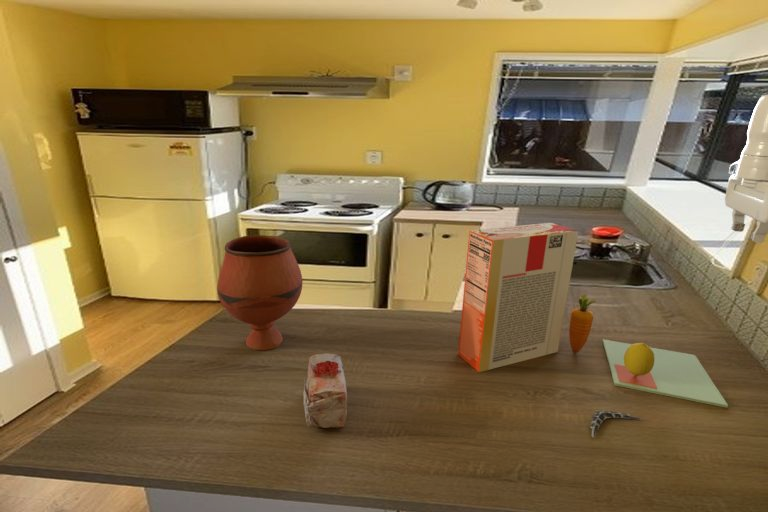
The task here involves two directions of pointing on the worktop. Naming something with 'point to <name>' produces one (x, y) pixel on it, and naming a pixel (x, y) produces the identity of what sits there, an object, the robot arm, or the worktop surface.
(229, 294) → the goblet
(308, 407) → the food item
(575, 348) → the carrot
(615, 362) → the mat
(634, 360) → the lemon
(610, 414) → the patterned boomerang
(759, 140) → the robot arm
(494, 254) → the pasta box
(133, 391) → the worktop surface
